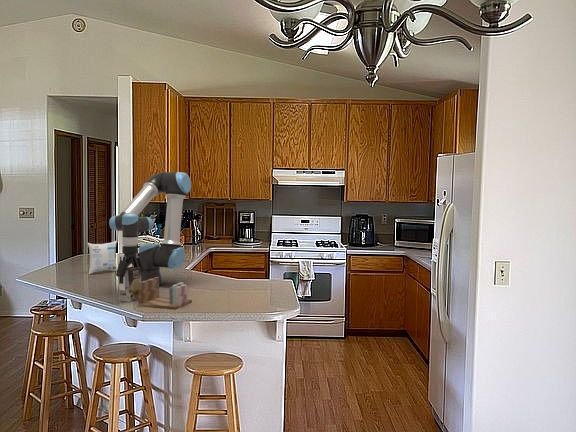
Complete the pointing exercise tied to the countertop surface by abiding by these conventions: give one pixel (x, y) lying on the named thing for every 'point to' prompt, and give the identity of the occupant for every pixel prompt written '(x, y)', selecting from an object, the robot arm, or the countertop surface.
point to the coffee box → (131, 284)
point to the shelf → (150, 297)
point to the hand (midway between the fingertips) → (130, 287)
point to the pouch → (102, 257)
